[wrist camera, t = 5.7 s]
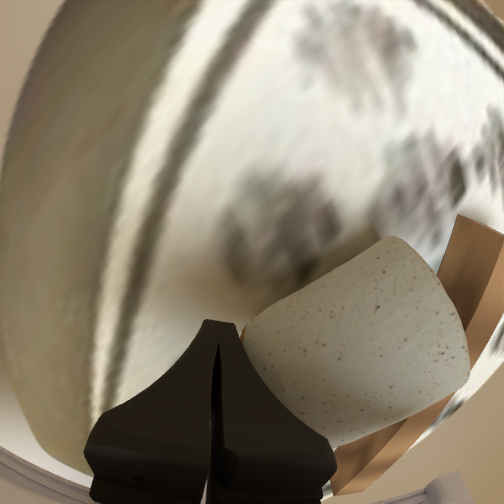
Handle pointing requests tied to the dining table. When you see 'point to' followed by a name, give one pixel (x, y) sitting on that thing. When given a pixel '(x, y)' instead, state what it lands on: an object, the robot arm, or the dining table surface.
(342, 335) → the ceramic mug
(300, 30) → the dining table surface
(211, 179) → the dining table surface
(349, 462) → the walnut rail
